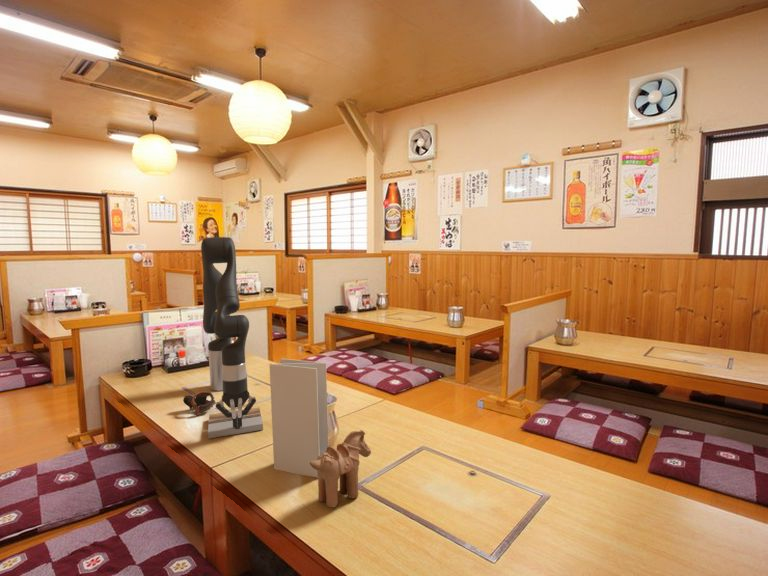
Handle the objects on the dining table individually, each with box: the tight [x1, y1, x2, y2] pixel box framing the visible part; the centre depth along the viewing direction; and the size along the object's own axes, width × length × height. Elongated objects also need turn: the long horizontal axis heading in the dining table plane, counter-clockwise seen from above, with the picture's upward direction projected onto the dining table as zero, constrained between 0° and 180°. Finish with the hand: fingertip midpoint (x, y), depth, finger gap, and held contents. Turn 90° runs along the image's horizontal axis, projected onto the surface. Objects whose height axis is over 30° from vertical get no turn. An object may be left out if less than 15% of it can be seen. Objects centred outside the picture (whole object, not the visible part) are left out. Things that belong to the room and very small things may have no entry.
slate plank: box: [207, 415, 264, 439], centre depth 141 cm, size 7×17×2 cm, turn 111°
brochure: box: [269, 358, 329, 479], centre depth 115 cm, size 14×6×30 cm, turn 71°
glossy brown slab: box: [208, 407, 262, 425], centre depth 149 cm, size 8×17×2 cm, turn 111°
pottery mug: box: [182, 390, 216, 417], centre depth 157 cm, size 12×10×8 cm
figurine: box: [310, 429, 372, 508], centre depth 104 cm, size 7×18×15 cm, turn 132°
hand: (237, 428), depth 138 cm, fingers closed
